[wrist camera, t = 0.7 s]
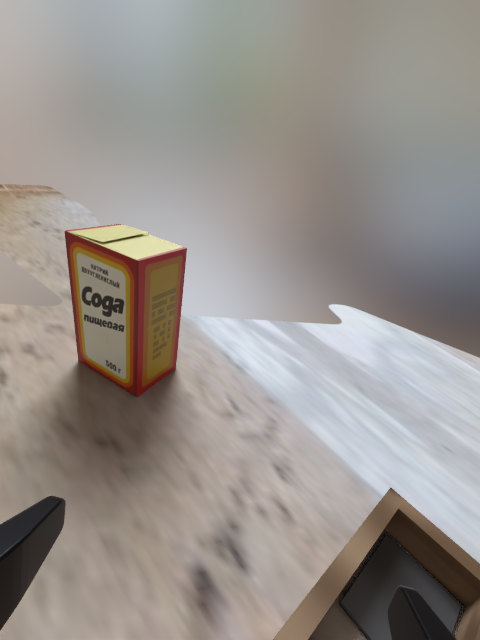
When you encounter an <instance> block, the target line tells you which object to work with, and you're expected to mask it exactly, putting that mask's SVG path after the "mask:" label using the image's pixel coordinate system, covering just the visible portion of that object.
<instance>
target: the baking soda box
mask: <svg viewBox="0 0 480 640" xmlns="http://www.w3.org/2000/svg"><path fill="white" fill-rule="evenodd" d="M146 233H148V232H146V231H142V230H139V229H135V228H132V227H128V226H124V225H121V224H116V225H108V226H99V227H91V228H83V229H75V230H66V231H65V239H66V248H67V258H68V267H69V276H70V286H71V295H72V305H73V314H74V323H75V333H76V342H77V352H78V361H79V362H81V363H83V364H84V365H86V366H88V367H89V368H91V369H92V370H94V371H96V372H97V373H99V374H100V375H102V376H104V377H105V378H107V379H109V380H110V381H112V382H113V383H115V384H117V385H118V386H120V387H121V388H123V389H125V390H126V391H128V392H130V393H131V394H133V395H134V396H136V397H138V396H139V395H141V394H142V393H143V392H145V391H146V390H147V389H149V388H150V387H151V386H153V385H154V384H155V383H157V382H158V381H159V380H161V379H162V378H163V377H165V376H166V375H167V374H169V373H170V372H171V371H173V370H174V369H175V368H176V360H177V349H178V338H179V328H180V317H181V306H182V294H183V284H184V273H185V262H186V250H187V248H184V247H182V246H179V245H176V244H174V243H171V242H168V241H165V240H163V239H160V238H157V237H154V236H152V235H149V234H146Z"/></svg>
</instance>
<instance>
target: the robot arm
mask: <svg viewBox="0 0 480 640" xmlns="http://www.w3.org/2000/svg"><path fill="white" fill-rule="evenodd" d="M64 516H65V500H64V499H63V498H59V497H55V496H49V497H47V498H45V499H43V500H41V501H40V502H38V503H36V504H35V505H33V506H31V507H29V508H28V509H26V510H24V511H23V512H21V513H19V514H18V515H16V516H14V517H12V518H11V519H9V520H7V521H6V522H4V523H2V524H0V630H1V629H2V627H3V626H4V624H5V623H6V622H7V620H8V619H9V617H10V616H11V614H12V613H13V611H14V610H15V608H16V607H17V605H18V604H19V602H20V601H21V599H22V597H23V596H24V594H25V592H26V591H27V589H28V587H29V586H30V584H31V582H32V581H33V579H34V577H35V575H36V574H37V572H38V570H39V568H40V567H41V565H42V563H43V562H44V560H45V558H46V556H47V555H48V553H49V551H50V549H51V548H52V546H53V544H54V543H55V541H56V539H57V537H58V536H59V534H60V532H61V530H62V528H63V524H64ZM387 614H388V622H389V628H390V633H391V638H392V640H457V639H456V638H455V637H454V635H453V634H452V633H451V632H450V630H449V629H448V628H447V627H446V626H445V624H444V623H443V622H442V621H441V619H440V618H439V617H438V616H437V614H436V613H435V612H434V611H433V609H432V608H431V607H430V606H429V605H428V603H427V602H426V601H425V600H424V598H423V597H422V596H421V595H420V593H419V592H418V591H416V590H415V589H413V588H410V587H406V586H402V585H400V586H398V587H397V588H396V590H395V593H394V595H393V597H392V599H391V602H390V604H389V606H388V613H387Z"/></svg>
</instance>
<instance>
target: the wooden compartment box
mask: <svg viewBox="0 0 480 640" xmlns="http://www.w3.org/2000/svg"><path fill="white" fill-rule="evenodd" d="M384 529H385V530H386V531H387V532H388V533H389V534H390V535H391V536H392V537H393V538H394V539H395V540H396V541H397V542H398V543H399V544H400V545H401V546H402V547H403V548H404V549H405V550H406V551H407V552H408V553H410V554H411V555H412V556H413V557H414V558H415V559H416V560H417V561H418V562H419V563H420V564H421V565H422V566H423V567H424V568H425V569H426V570H427V571H428V572H429V573H430V574H431V575H432V576H434V577H435V578H436V579H437V580H438V581H439V582H440V583H441V584H442V585H443V586H444V587H445V588H446V589H447V590H448V591H449V592H450V593H451V594H452V595H453V596H454V597H455V598H456V599H457V600H459V601H460V602H461V603H462V604H463V605H464V606H465V610H464V613H463V616H462V619H461V622H460V625H459V628H458V631H457V634H456V637H455V638H456V639H457V640H480V564H479V563H478V562H477V561H476V560H475V559H474V558H472V557H471V556H470V555H469V554H468V553H467V552H465V551H464V550H463V549H462V548H461V547H460V546H458V545H457V544H456V543H455V542H454V541H453V540H451V539H450V538H449V537H448V536H447V535H446V534H444V533H443V532H442V531H441V530H440V529H439V528H437V527H436V526H435V525H434V524H433V523H432V522H430V521H429V520H428V519H427V518H426V517H425V516H423V515H422V514H421V513H420V512H419V511H418V510H416V509H415V508H414V507H413V506H412V505H411V504H409V503H408V502H407V501H406V500H405V499H404V498H402V497H401V496H400V495H399V494H398V493H397V492H395V491H394V490H393V489H392V488H390V489H389V490H388V492H387V493H386V494H385V495H384V497H383V498H382V499H381V501H380V502H379V503H378V504H377V506H376V507H375V508H374V510H373V511H372V512H371V514H370V515H369V516H368V517H367V519H366V520H365V521H364V523H363V524H362V525H361V526H360V528H359V529H358V530H357V532H356V533H355V534H354V535H353V537H352V538H351V539H350V541H349V542H348V543H347V544H346V546H345V547H344V548H343V550H342V551H341V552H340V554H339V555H338V556H337V557H336V559H335V560H334V561H333V563H332V564H331V565H330V566H329V568H328V569H327V570H326V572H325V573H324V574H323V575H322V577H321V578H320V579H319V581H318V582H317V583H316V585H315V586H314V587H313V588H312V590H311V591H310V592H309V594H308V595H307V596H306V597H305V599H304V600H303V601H302V603H301V604H300V605H299V606H298V608H297V609H296V610H295V612H294V613H293V614H292V615H291V617H290V618H289V619H288V621H287V622H286V623H285V625H284V626H283V627H282V628H281V630H280V631H279V632H278V634H277V635H276V636H275V637H274V639H273V640H308V639H309V637H310V636H311V634H312V633H313V631H314V630H315V628H316V627H317V625H318V624H319V623H320V621H321V620H322V618H323V617H324V615H325V614H326V612H327V611H328V610H329V608H330V607H331V605H332V604H333V602H334V601H335V599H336V598H337V597H338V595H339V594H340V592H341V591H342V589H343V588H344V586H345V585H346V584H347V582H348V581H349V579H350V578H351V576H352V575H353V573H354V572H355V570H356V569H357V568H358V566H359V565H360V563H361V562H362V560H363V559H364V557H365V556H366V555H367V553H368V552H369V550H370V549H371V547H372V546H373V544H374V543H375V542H376V540H377V539H378V537H379V536H380V534H381V533H382V531H383V530H384ZM400 585H402V586H406V587H410V588H413V589H415V590H416V591H418V592H419V593H420V595H421V596H422V597H423V598H424V600H425V601H426V602H427V603H428V605H429V606H430V607H431V608H432V609H433V611H434V612H435V613H436V614H437V616H438V617H439V618H440V619H441V621H442V622H443V623H444V624H445V626H446V627H447V628H448V629H449V630H450V632H451V633H452V632H453V629H454V626H455V623H456V620H457V617H458V614H459V612H460V609H461V605H460V604H459V603H458V602H457V601H456V600H455V599H454V598H453V597H452V596H451V595H450V594H449V593H448V592H447V591H446V590H445V589H444V588H443V587H442V586H441V585H440V584H439V583H438V582H437V581H436V580H434V579H433V578H432V577H431V576H430V575H429V574H428V573H427V572H426V571H425V570H424V569H423V568H422V567H421V566H420V565H419V564H418V563H417V562H416V561H415V560H414V559H413V558H412V557H411V556H410V555H409V554H407V553H406V552H405V551H404V550H403V549H402V548H401V547H400V546H399V545H398V544H397V543H396V542H395V541H394V540H393V539H392V538H391V537H390V536H389V535H388V534H386V536H385V537H384V538H383V540H382V541H381V543H380V544H379V546H378V547H377V549H376V550H375V552H374V553H373V555H372V556H371V558H370V559H369V561H368V562H367V564H366V565H365V567H364V568H363V570H362V571H361V573H360V574H359V576H358V577H357V579H356V580H355V582H354V583H353V585H352V586H351V588H350V589H349V591H348V592H347V594H346V595H345V597H344V598H343V600H342V601H341V602H340V605H341V606H342V607H343V609H344V610H345V611H346V612H347V614H348V615H349V616H350V617H351V619H352V620H353V621H354V622H355V624H356V625H357V626H358V627H359V628H360V630H361V631H362V632H363V633H364V635H365V636H366V637H367V638H368V640H392V638H391V633H390V628H389V622H388V614H387V613H388V606H389V604H390V602H391V599H392V597H393V595H394V593H395V590H396V588H397V587H398V586H400Z"/></svg>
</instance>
